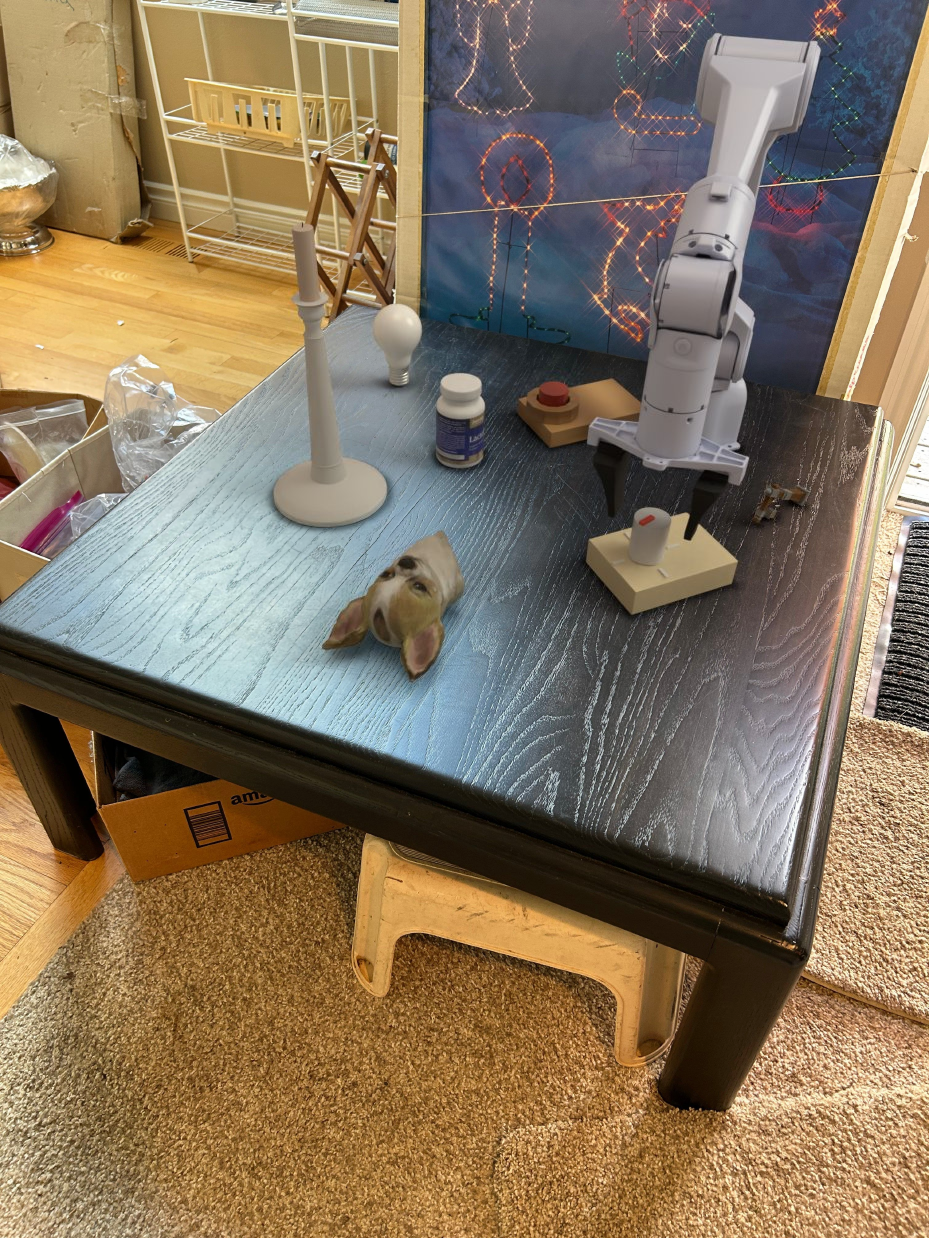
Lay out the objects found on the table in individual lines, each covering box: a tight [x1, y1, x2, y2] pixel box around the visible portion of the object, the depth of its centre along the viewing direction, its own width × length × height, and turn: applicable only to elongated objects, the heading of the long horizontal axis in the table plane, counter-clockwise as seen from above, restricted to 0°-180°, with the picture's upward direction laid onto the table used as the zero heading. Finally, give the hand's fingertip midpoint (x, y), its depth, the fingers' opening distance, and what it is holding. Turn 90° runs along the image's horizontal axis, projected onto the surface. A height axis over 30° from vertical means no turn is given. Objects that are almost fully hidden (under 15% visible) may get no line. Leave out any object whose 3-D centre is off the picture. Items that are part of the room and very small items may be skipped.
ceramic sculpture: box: [321, 529, 466, 683], centre depth 83 cm, size 11×9×15 cm
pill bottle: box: [435, 372, 486, 469], centre depth 105 cm, size 6×6×10 cm
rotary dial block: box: [585, 512, 739, 616], centre depth 92 cm, size 12×9×3 cm
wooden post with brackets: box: [752, 483, 811, 524], centre depth 100 cm, size 2×8×4 cm, turn 127°
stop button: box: [539, 380, 570, 407], centre depth 111 cm, size 4×4×2 cm
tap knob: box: [628, 506, 672, 566], centre depth 89 cm, size 4×4×5 cm
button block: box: [517, 378, 642, 449], centre depth 114 cm, size 15×9×4 cm, turn 114°
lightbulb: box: [372, 303, 423, 387], centre depth 118 cm, size 6×6×11 cm
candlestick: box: [272, 222, 388, 528], centre depth 93 cm, size 13×13×30 cm
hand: (651, 523), depth 88 cm, fingers open, 7 cm apart
